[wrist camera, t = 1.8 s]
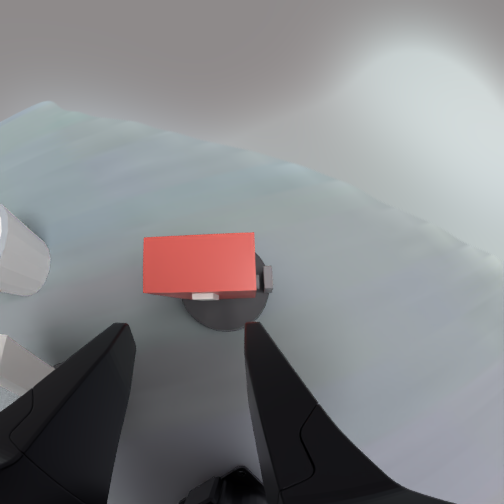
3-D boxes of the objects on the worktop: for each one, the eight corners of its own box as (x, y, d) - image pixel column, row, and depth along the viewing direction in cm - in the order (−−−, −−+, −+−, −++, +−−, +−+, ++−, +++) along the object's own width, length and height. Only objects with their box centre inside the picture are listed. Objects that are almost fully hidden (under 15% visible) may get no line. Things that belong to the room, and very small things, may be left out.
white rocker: (94, 418, 17) (1, 375, 9) (44, 407, 17) (-47, 359, 9) (97, 392, 18) (11, 335, 11) (48, 383, 18) (-38, 326, 11)
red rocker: (259, 301, 20) (265, 296, 11) (189, 303, 20) (135, 298, 11) (258, 267, 20) (262, 231, 11) (188, 269, 20) (136, 238, 11)
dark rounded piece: (271, 329, 22) (274, 325, 18) (184, 332, 22) (171, 328, 18) (267, 248, 23) (269, 230, 20) (185, 252, 23) (174, 235, 20)
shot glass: (30, 318, 22) (-23, 303, 15) (-3, 276, 23) (-51, 255, 16) (68, 254, 24) (20, 223, 17) (30, 219, 25) (-13, 187, 18)
